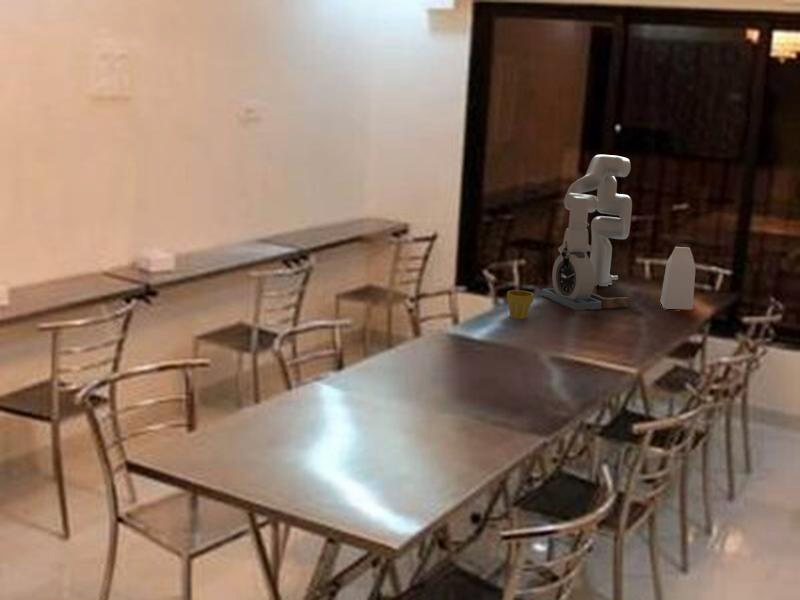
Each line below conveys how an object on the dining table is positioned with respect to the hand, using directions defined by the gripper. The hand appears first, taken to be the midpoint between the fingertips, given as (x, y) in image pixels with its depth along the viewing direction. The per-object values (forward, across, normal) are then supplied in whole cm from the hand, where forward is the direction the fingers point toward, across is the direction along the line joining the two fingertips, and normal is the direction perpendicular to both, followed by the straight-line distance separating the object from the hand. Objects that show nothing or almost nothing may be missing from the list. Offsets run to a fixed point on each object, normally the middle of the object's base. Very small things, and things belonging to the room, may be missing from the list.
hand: (574, 266), depth 452 cm
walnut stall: (+16, -14, 0) cm, 21 cm away
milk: (+16, -42, +17) cm, 48 cm away
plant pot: (+16, +36, +19) cm, 44 cm away
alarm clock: (+13, 0, 0) cm, 13 cm away
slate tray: (+16, 0, 0) cm, 16 cm away
